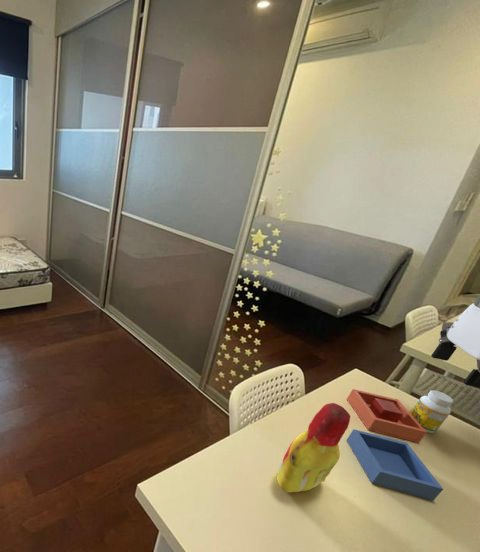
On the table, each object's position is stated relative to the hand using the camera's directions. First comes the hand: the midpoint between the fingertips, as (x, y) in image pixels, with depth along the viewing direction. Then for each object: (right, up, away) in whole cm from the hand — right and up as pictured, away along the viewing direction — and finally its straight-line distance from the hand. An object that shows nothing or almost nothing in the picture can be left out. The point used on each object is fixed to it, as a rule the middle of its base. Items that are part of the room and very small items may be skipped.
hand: (454, 371), depth 74 cm
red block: (-11, -14, +7) cm, 19 cm away
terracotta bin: (-11, -14, +7) cm, 19 cm away
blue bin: (-21, -19, -6) cm, 29 cm away
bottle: (-44, -19, -10) cm, 49 cm away
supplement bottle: (-1, -16, +7) cm, 17 cm away
